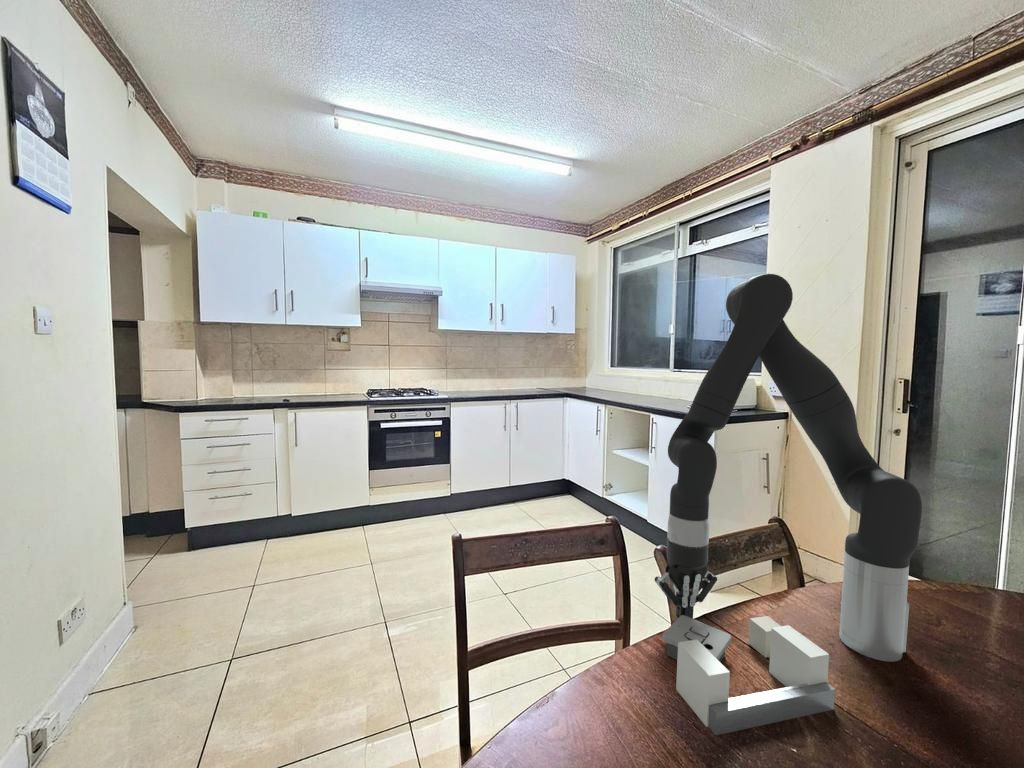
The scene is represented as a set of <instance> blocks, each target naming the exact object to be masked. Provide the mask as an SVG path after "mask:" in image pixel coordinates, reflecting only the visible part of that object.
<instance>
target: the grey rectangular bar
mask: <svg viewBox="0 0 1024 768" xmlns="http://www.w3.org/2000/svg"><path fill="white" fill-rule="evenodd" d="M835 697H836V689H835V688H834V687H833V686H832V685H830V684H829V683H828V681H827V682H824V683H819V684H814V685H808V684H807V683H805V684H800V685H795V686H790V687H786V686H785V687H780V688H775V689H771V690H766V691H761V692H753V693H749V694H745V695H744V694H743V695H740V696H735V697H729V701H727V702H722V703H717V704H712V705H709V722H708V727H707V728H708V729H709V730H710V731H711V732H712V733H713V735H715V736H720V735H723V734H729V733H733V732H734V733H735V732H738V731H742V730H746V729H753V728H756V727H760V726H766V725H769V724H774V723H778V722H779V723H780V722H783V721H787V720H793V719H798V718H802V717H805V716H810V715H814V714H820V713H824V712H829V711H834V709H835Z"/></svg>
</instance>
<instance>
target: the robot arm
mask: <svg viewBox="0 0 1024 768" xmlns="http://www.w3.org/2000/svg"><path fill="white" fill-rule="evenodd" d="M793 294H794V293H793V288H792V287H791V284H790V283H789V282H788V280H787V279H785V278H784V277H783V276H781V275H779V274H776V273H762V274H759V275H755V276H753V277H751V278H748V279H747V280H745V281H742V282H741V283H739V284H737V285H735V286H734V287H733V288H732V289H731V290H730V292H729V293H728V295H727V297H726V301H725V309H726V313H727V316H728V317H729V319H730V321H731V322H732V324H733V328H732V330H731V332H730V334H729V337H728V339H727V341H726V343H725V344H724V346H723V348H722V349H721V351H720V353H719V354H718V356H717V358H716V359H715V360H714V361H713V363H712V364H711V366H710V368H709V369H708V370H707V372H706V374H705V376H704V377H703V379H702V380H701V382H700V385H699V387H698V390H697V392H696V394H695V396H694V398H693V400H692V403H691V405H690V408H689V410H688V412H687V413H686V415H684V417H683V418H682V420H681V421H680V423H679V424H678V426H677V427H676V429H675V430H674V432H673V433H672V435H671V437H670V440H669V441H668V442H669V443H668V446H667V456H668V459H669V461H670V462H671V463H672V464H673V465H674V466H675V467H677V468H678V471H677V472H678V476H677V482H676V483H674V484H673V485H672V486H671V489H670V493H669V513H668V520H667V537H666V559H667V564H666V566H665V568H664V573H663V574H662V575H661V576H658V575H657V576H655V577H654V582H655V583H656V585H657V586H658V587H659V589H660V590H661V591H662V593H663V594H664V596H666V598H667V599H668V600H670V601H671V602H672V604H674V606H676V609H675V610H676V611H675V612H676V613H675V615H676V619H678V618H679V617H680V616H681V615H685V616H688V617H690V618H692V619H694V607H695V606H696V604H697V603H702V602H704V600H705V599H706V597H707V596H708V594H709V593H710V592H711V590H712V589H713V587H714V586H715V584H716V583H717V581H718V577H717V576H716V575H715V574H713V573H712V572H710V570H708V567H707V565H708V561H709V544H710V543H709V542H710V541H709V539H710V525H709V524H710V523H709V510H710V498H709V496H710V494H711V492H712V488H713V486H714V481H715V478H716V472H717V467H718V466H717V465H718V462H717V461H718V459H717V453H716V451H715V449H714V447H713V445H712V444H710V442H709V440H711V437H712V436H713V434H714V433H715V432H716V431H720V430H723V429H724V428H725V427H726V425H727V423H728V422H729V419H730V417H731V415H732V413H733V410H734V409H735V406H736V404H737V402H738V399H739V398H740V394H741V392H742V391H743V388H744V386H745V384H746V382H747V379H748V377H749V376H750V374H751V371H752V370H753V368H754V366H755V364H756V362H757V361H758V359H760V360H761V362H762V363H763V366H764V367H765V369H766V371H767V372H768V374H769V376H770V378H771V379H772V381H773V383H774V384H775V386H776V388H777V389H778V391H779V393H780V394H781V396H782V398H783V400H784V401H785V403H786V404H787V407H788V408H789V409H790V411H791V413H792V414H793V416H794V417H795V419H796V420H797V421H798V423H799V424H800V426H801V427H802V429H803V430H804V432H805V433H806V435H807V436H808V439H809V440H810V441H811V443H812V444H813V445H814V447H815V448H816V449H817V450H818V452H819V454H820V455H821V457H822V459H823V460H824V462H825V464H826V466H827V468H828V470H829V472H830V475H831V477H832V479H833V481H834V483H835V485H836V487H837V490H838V491H839V494H840V495H841V497H842V499H843V501H844V502H845V503H846V505H848V506H849V507H850V508H851V509H852V510H853V511H855V512H856V513H858V514H859V521H858V522H859V523H858V529H857V532H852V533H850V534H847V536H846V537H845V540H844V541H845V543H844V557H843V571H842V572H843V573H842V586H841V587H842V588H841V604H840V617H839V619H840V620H839V631H838V632H839V633H838V637H839V639H840V640H841V642H842V643H844V645H845V646H847V647H848V648H850V649H851V650H853V651H854V652H856V653H859V654H860V655H863V656H865V657H866V658H870V659H873V660H878V661H881V662H891V663H892V662H893V663H895V662H898V661H901V660H902V658H903V653H906V652H907V651H906V650H907V639H908V638H907V637H908V628H909V627H908V623H909V614H910V613H909V611H910V603H909V602H908V601H907V599H908V587H909V572H910V570H909V569H910V560H911V557H912V555H914V553H915V552H916V549H917V547H918V542H919V534H920V528H921V523H922V516H923V515H922V514H923V513H922V512H923V503H922V502H923V501H922V497H921V494H920V492H919V490H918V488H917V487H916V486H915V485H914V484H913V483H911V482H910V481H909V480H907V479H905V478H902V477H901V476H898V475H895V474H893V473H891V472H888V471H885V470H884V469H883V468H882V467H881V466H880V465H879V464H878V463H877V461H876V460H875V459H874V458H873V456H872V455H871V453H870V452H869V450H868V449H867V448H866V446H865V444H864V443H863V441H862V439H861V437H860V434H859V429H858V424H857V422H858V421H857V416H856V412H855V407H854V404H853V402H852V400H851V398H850V396H849V394H848V393H847V392H846V390H845V388H844V387H843V385H842V383H841V382H840V381H839V379H838V377H837V376H836V375H835V373H834V372H833V371H832V370H831V368H830V367H829V366H827V365H826V363H824V361H822V360H821V359H820V358H819V357H818V356H816V355H815V354H814V353H813V352H812V351H811V350H809V349H808V348H807V347H806V346H804V344H802V343H801V342H800V341H799V340H798V339H797V338H796V337H795V336H794V334H793V333H792V332H791V330H790V329H789V326H788V325H787V323H786V322H785V320H784V318H785V317H786V315H787V314H788V312H789V311H790V309H791V306H792V303H793V298H794V297H793ZM671 583H672V584H673V586H672V585H671ZM671 586H672V587H673V590H674V592H673V591H672V588H671Z"/></svg>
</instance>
